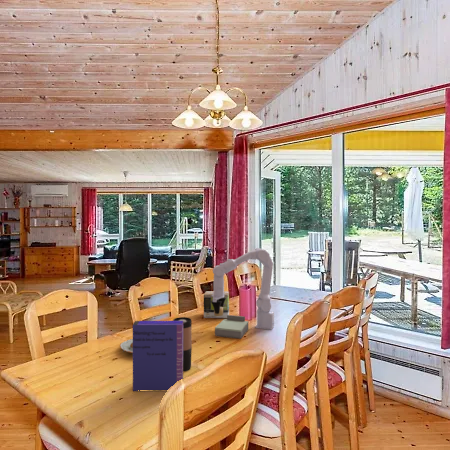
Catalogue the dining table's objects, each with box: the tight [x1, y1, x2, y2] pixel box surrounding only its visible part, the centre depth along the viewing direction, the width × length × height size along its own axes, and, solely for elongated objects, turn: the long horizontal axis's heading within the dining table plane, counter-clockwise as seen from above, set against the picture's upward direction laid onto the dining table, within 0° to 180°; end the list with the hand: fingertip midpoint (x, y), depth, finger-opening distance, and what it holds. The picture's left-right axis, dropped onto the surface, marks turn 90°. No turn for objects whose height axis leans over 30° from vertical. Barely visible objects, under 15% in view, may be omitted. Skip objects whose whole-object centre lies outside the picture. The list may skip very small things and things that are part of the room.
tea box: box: [203, 290, 230, 319], centre depth 222 cm, size 15×10×15 cm
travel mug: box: [172, 316, 193, 373], centre depth 146 cm, size 8×8×20 cm
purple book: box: [132, 320, 184, 392], centre depth 129 cm, size 17×5×24 cm, turn 92°
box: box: [214, 323, 249, 340], centre depth 191 cm, size 14×16×4 cm
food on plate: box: [119, 338, 133, 354], centre depth 167 cm, size 25×25×7 cm
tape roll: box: [214, 307, 223, 316], centre depth 197 cm, size 5×5×4 cm
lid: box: [214, 314, 249, 332], centre depth 191 cm, size 14×16×3 cm
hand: (218, 312), depth 197 cm, fingers closed on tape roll, 5 cm apart
